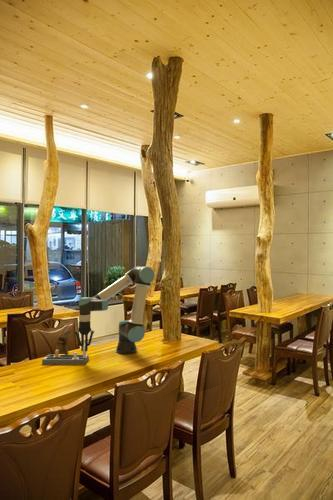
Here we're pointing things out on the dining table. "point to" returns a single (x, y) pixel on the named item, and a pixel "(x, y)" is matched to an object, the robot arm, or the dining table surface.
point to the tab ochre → (57, 353)
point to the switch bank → (65, 359)
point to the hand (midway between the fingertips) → (84, 356)
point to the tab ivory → (75, 355)
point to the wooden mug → (63, 343)
